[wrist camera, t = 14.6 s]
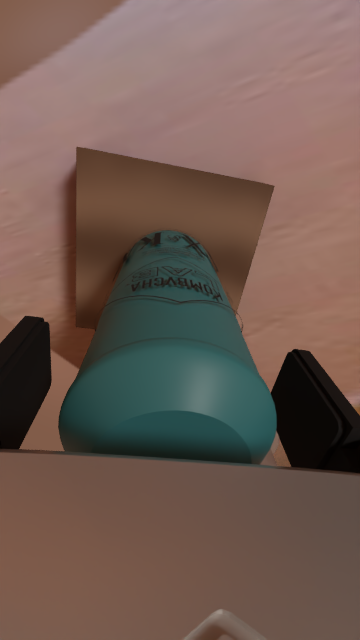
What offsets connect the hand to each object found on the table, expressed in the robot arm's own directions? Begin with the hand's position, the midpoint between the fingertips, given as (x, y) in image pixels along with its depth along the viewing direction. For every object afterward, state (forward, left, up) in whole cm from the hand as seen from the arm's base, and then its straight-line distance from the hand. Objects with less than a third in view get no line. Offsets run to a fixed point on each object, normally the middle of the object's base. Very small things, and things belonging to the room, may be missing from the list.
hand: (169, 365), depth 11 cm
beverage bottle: (0, 0, -12) cm, 12 cm away
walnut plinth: (0, 0, -15) cm, 15 cm away
